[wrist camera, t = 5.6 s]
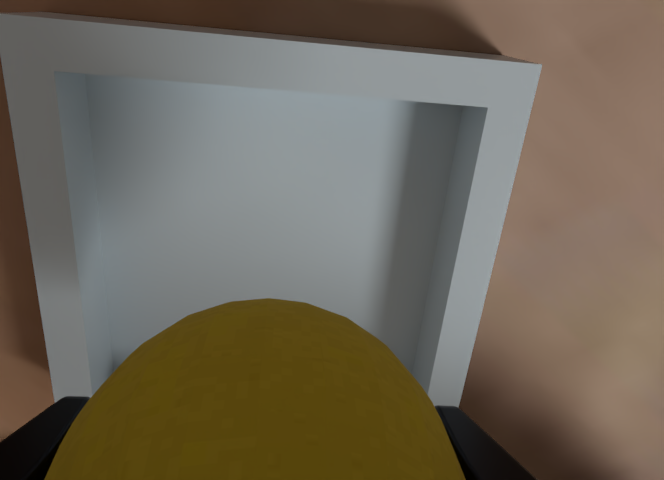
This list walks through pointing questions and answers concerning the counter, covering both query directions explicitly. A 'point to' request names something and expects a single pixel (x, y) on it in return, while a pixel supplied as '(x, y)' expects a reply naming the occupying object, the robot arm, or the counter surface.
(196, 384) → the lemon
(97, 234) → the dish
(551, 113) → the counter surface
